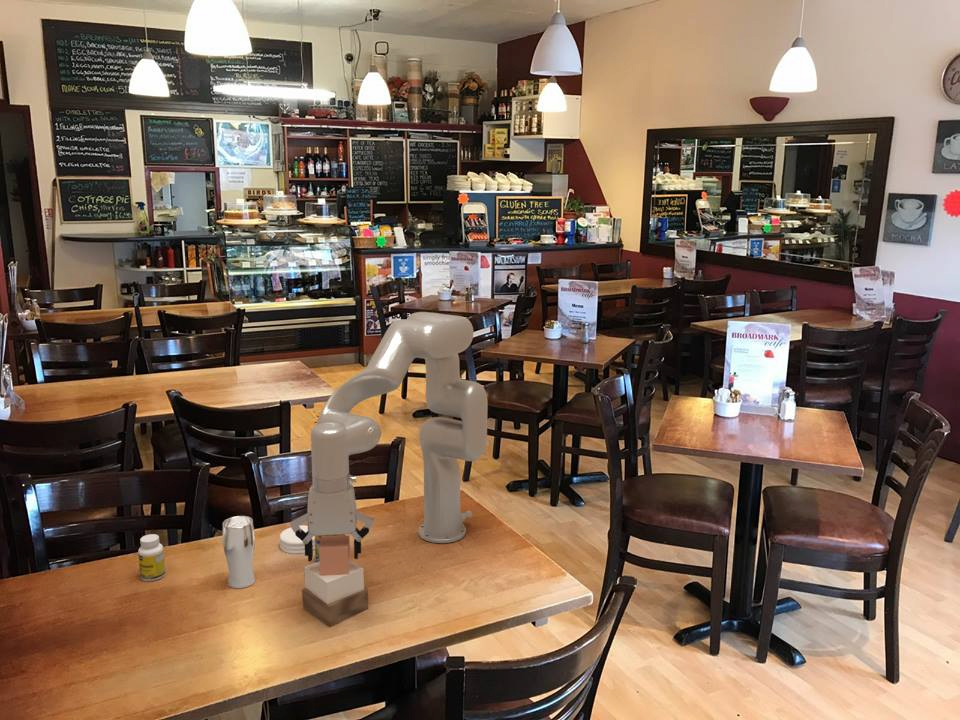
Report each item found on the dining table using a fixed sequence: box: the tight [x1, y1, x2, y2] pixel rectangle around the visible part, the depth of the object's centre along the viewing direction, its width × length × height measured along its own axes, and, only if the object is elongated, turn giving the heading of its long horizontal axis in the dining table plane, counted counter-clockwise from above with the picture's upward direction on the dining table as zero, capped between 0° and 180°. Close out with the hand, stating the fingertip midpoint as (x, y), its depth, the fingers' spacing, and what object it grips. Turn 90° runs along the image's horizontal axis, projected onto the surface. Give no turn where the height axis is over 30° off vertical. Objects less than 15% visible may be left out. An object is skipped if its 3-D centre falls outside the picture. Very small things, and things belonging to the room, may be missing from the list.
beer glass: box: [222, 515, 256, 589], centre depth 176 cm, size 7×7×15 cm
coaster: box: [279, 524, 315, 555], centre depth 195 cm, size 10×10×4 cm
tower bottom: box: [301, 586, 369, 628], centre depth 166 cm, size 10×10×5 cm
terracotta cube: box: [319, 534, 351, 575], centre depth 164 cm, size 6×6×6 cm
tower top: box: [304, 559, 365, 604], centre depth 165 cm, size 9×9×5 cm
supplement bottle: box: [137, 533, 166, 582], centre depth 178 cm, size 5×5×10 cm
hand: (333, 557), depth 164 cm, fingers open, 9 cm apart
